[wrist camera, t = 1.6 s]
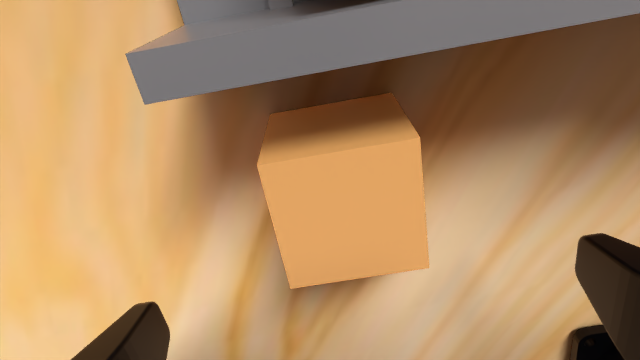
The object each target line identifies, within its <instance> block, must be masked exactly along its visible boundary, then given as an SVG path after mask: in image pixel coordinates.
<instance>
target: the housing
mask: <svg viewBox="0 0 640 360" xmlns="http://www.w3.org/2000/svg"><path fill="white" fill-rule="evenodd" d="M177 2H178V5H179V9H180V12H181V15H182V18H183V22H184V26H182V27H180V28H178V29H176V30H174V31H172V32H169V33H167V34H165V35H163V36H161V37H159V38H157V39H155V40H153V41H151V42H149V43H147V44H145V45H143V46H141V47H139V48H137V49H134V50H132V51H130V52H128V53H126V54H125V55H126V57H127V60H128V62H129V65H130V68H131V70H132V73H133V75H134V78H135V81H136V83H137V86H138V89H139V91H140V94H141V96H142V99H143V102H144V104H151V103H156V102H161V101H167V100H172V99H178V98H183V97H189V96H194V95H199V94H205V93H210V92H216V91H221V90H226V89H232V88H237V87H243V86H248V85H254V84H259V83H264V82H270V81H275V80H281V79H286V78H292V77H297V76H302V75H308V74H313V73H319V72H324V71H329V70H335V69H340V68H346V67H351V66H357V65H362V64H367V63H373V62H378V61H384V60H389V59H394V58H400V57H405V56H411V55H416V54H422V53H427V52H432V51H438V50H443V49H449V48H454V47H459V46H465V45H470V44H476V43H481V42H487V41H492V40H497V39H503V38H508V37H514V36H519V35H524V34H530V33H535V32H541V31H546V30H552V29H557V28H562V27H568V26H573V25H579V24H584V23H589V22H595V21H600V20H606V19H611V18H617V17H622V16H627V15H633V14H638V13H640V0H177Z"/></svg>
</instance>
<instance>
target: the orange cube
mask: <svg viewBox="0 0 640 360" xmlns="http://www.w3.org/2000/svg"><path fill="white" fill-rule="evenodd" d="M257 168H258V172H259V176H260V179H261V183H262V187H263V190H264V194H265V198H266V201H267V205H268V209H269V212H270V216H271V220H272V223H273V227H274V231H275V234H276V238H277V242H278V245H279V249H280V253H281V256H282V260H283V264H284V267H285V271H286V275H287V278H288V282H289V286H290V289H293V288H300V287H306V286H313V285H320V284H326V283H333V282H339V281H346V280H353V279H359V278H366V277H372V276H379V275H386V274H392V273H399V272H405V271H412V270H419V269H425V268H429V256H428V242H427V228H426V214H425V199H424V185H423V171H422V157H421V143H420V137H419V135H418V133H417V132H416V130H415V129H414V127H413V126H412V124H411V122H410V121H409V119H408V118H407V116H406V114H405V113H404V111H403V110H402V108H401V107H400V105H399V103H398V102H397V100H396V99H395V97H394V96H393V94H392V93H386V94H381V95H375V96H369V97H364V98H358V99H352V100H347V101H341V102H335V103H330V104H324V105H319V106H313V107H307V108H302V109H296V110H290V111H285V112H279V113H273V114H270V117H269V120H268V124H267V128H266V132H265V136H264V140H263V143H262V147H261V151H260V155H259V159H258V163H257Z"/></svg>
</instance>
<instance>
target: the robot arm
mask: <svg viewBox="0 0 640 360" xmlns="http://www.w3.org/2000/svg"><path fill="white" fill-rule="evenodd" d="M575 272H576V276H577V278H578V280H579V282H580V284H581V286H582V288H583V289H584V291H585V293H586V295H587V297H588V298H589V300H590V302H591V304H592V306H593V307H594V309H595V311H596V313H597V315H598V316H599V318H600V320H601V322H602V323H603V325H598V326H591V327H585V328H581V329H580V330H578V331H577V332H576V333H575V334H574V336H573V342H572V349H571V356H570V360H640V247H637V246H635V245H632V244H629V243H627V242H624V241H622V240H619V239H617V238H614V237H612V236H609V235H606V234H603V233H598V234H591V235H585V236H582V237H581V238H580V239H579V241H578V248H577V256H576V264H575ZM169 341H170V331H169V327H168V325H167V323H166V321H165V319H164V317H163V315H162V312H161V310H160V308H159V306H158V305H157V304H156V303H155V302H145V303H139V304H136V305H134V306H133V307H132V308H130V309H129V310H128V311H127V312H126V313H125V314H123V315H122V316H121V317H120V318H119V319H118V320H116V321H115V322H114V323H113V324H112V325H111V326H110V327H108V328H107V329H106V330H105V331H104V332H103V333H101V334H100V335H99V336H98V337H97V338H96V339H94V340H93V341H92V342H91V343H90V344H89V345H87V346H86V347H85V348H84V349H83V350H82V351H80V352H79V353H78V354H77V355H76V356H75V357H73V358H72V359H71V360H166V358H167V353H168V347H169Z"/></svg>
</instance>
